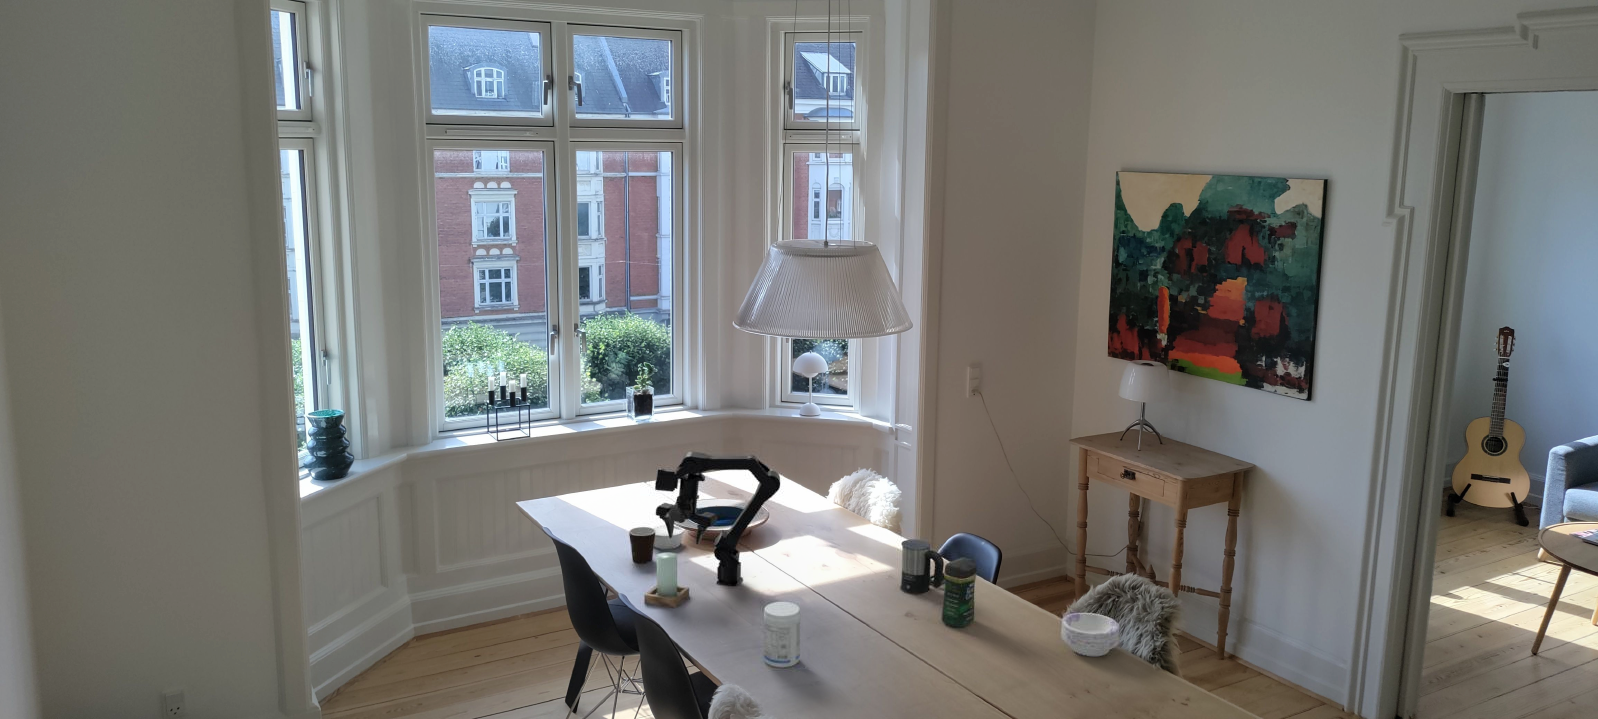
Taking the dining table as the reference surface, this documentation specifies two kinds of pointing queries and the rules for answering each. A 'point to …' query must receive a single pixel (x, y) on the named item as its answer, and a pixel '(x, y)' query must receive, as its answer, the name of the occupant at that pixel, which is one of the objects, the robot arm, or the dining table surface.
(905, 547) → the milk frother
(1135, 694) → the dining table surface
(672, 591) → the pale green rounded part
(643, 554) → the coffee mug
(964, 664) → the dining table surface
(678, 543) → the ramekin
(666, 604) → the tray
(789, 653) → the supplement tub
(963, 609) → the coffee jar
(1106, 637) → the paper bowls
